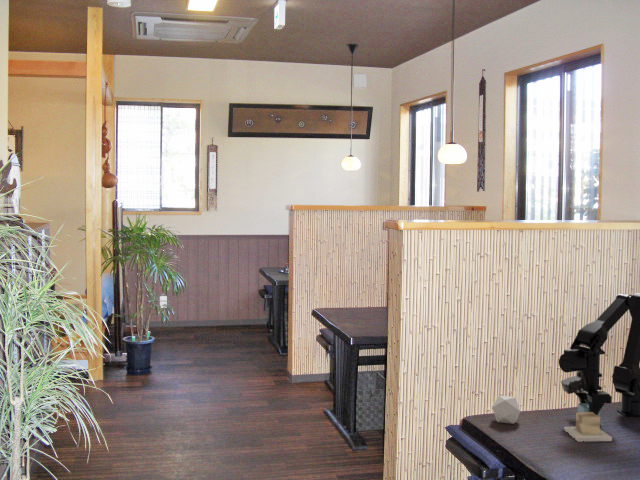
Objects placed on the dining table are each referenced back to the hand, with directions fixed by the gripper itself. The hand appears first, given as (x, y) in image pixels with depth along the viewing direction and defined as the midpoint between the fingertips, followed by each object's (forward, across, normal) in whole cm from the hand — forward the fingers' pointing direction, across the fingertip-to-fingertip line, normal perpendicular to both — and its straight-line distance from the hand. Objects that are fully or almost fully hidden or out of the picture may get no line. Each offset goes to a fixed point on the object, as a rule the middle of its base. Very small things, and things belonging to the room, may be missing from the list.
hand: (588, 417), depth 221 cm
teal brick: (+1, 0, 0) cm, 1 cm away
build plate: (+1, +13, -6) cm, 14 cm away
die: (+1, -1, -26) cm, 26 cm away
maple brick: (0, +13, -6) cm, 14 cm away
